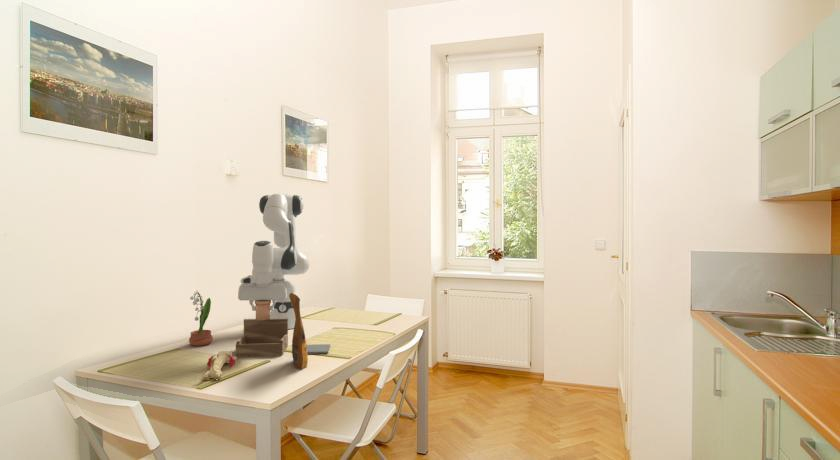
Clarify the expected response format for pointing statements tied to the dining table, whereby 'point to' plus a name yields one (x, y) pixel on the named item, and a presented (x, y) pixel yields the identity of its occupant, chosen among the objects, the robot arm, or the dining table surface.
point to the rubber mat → (318, 348)
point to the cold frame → (263, 338)
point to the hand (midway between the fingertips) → (262, 310)
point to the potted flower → (201, 324)
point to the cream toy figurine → (219, 364)
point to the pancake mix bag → (298, 336)
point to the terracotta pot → (262, 309)
